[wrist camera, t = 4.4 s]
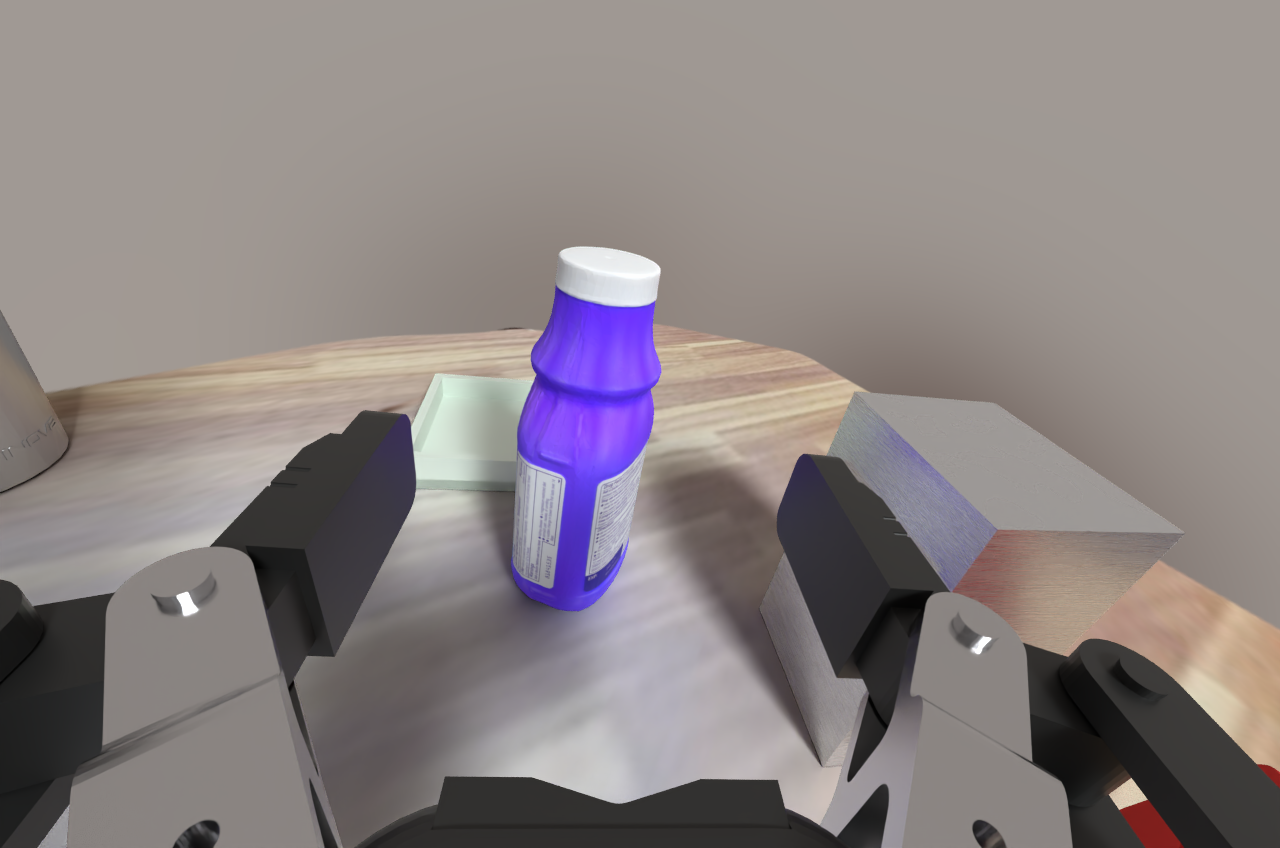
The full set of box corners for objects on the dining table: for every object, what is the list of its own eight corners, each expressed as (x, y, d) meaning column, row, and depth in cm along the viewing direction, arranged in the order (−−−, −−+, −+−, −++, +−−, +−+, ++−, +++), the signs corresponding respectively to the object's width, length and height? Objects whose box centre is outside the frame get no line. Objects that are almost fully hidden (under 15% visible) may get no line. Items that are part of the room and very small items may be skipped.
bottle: (555, 511, 32) (581, 230, 23) (637, 542, 31) (699, 258, 22) (491, 595, 26) (490, 257, 17) (590, 637, 24) (648, 298, 15)
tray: (401, 488, 31) (397, 456, 30) (437, 400, 41) (435, 373, 39) (577, 493, 34) (581, 464, 32) (573, 409, 43) (576, 383, 42)
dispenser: (811, 768, 21) (982, 529, 14) (750, 608, 28) (844, 390, 20) (968, 753, 23) (1195, 533, 15) (874, 606, 29) (1002, 403, 22)
